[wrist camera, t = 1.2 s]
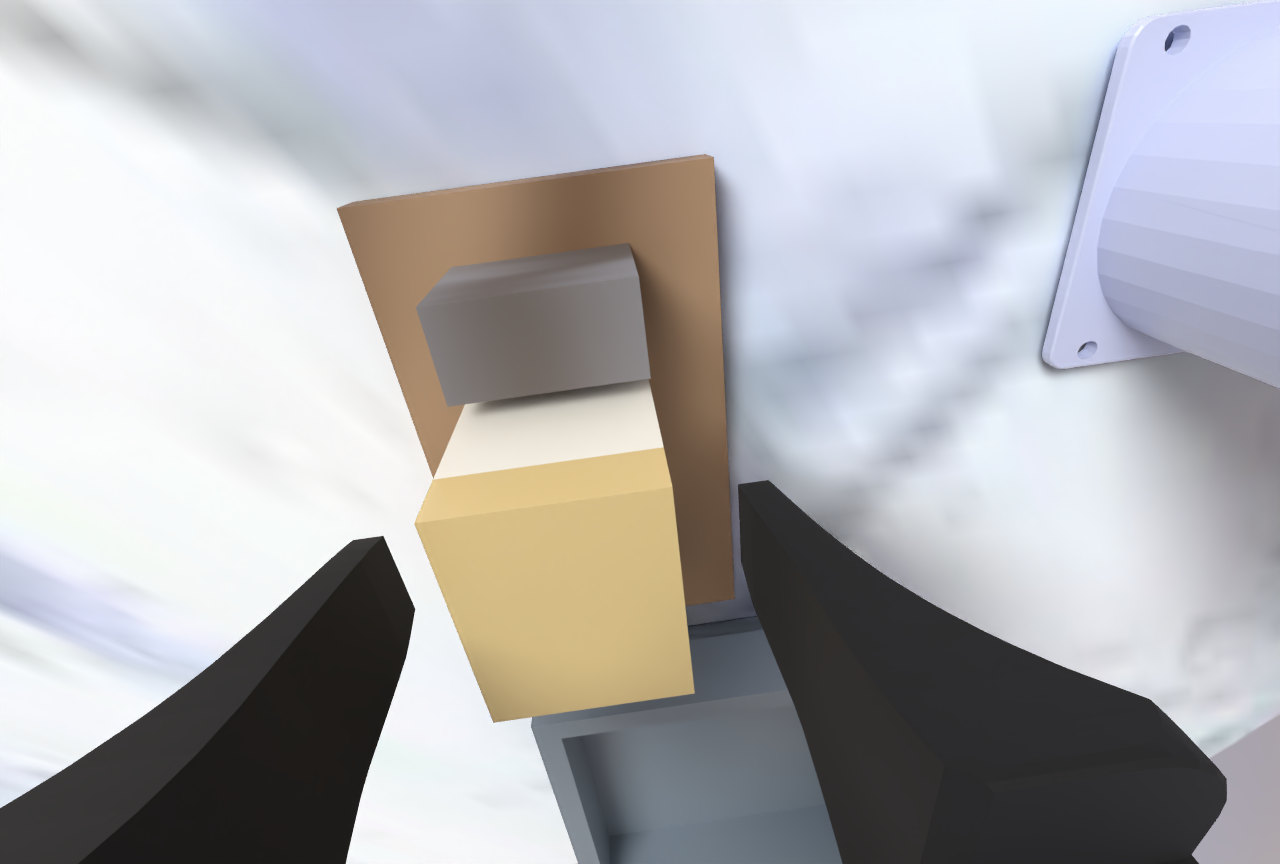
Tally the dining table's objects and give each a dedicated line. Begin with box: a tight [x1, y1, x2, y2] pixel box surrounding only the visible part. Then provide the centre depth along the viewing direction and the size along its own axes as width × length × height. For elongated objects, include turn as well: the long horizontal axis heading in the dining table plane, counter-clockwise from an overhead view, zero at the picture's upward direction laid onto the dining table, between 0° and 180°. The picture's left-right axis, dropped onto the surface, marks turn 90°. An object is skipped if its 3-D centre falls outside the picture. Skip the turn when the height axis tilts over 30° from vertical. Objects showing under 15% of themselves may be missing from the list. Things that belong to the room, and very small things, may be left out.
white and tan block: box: [414, 379, 695, 723], centre depth 13 cm, size 4×5×6 cm
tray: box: [531, 617, 842, 864], centre depth 22 cm, size 12×13×3 cm
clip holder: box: [337, 154, 735, 606], centre depth 14 cm, size 8×13×4 cm, turn 7°
